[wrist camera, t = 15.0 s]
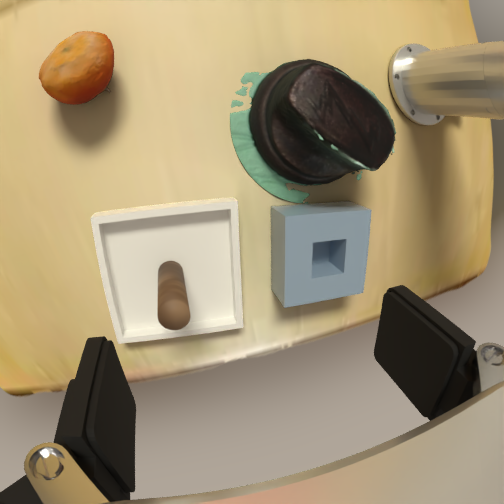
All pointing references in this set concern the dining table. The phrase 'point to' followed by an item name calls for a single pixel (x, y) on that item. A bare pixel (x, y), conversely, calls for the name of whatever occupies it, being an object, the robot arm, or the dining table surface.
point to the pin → (172, 297)
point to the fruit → (78, 68)
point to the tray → (170, 249)
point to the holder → (318, 251)
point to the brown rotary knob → (309, 127)
